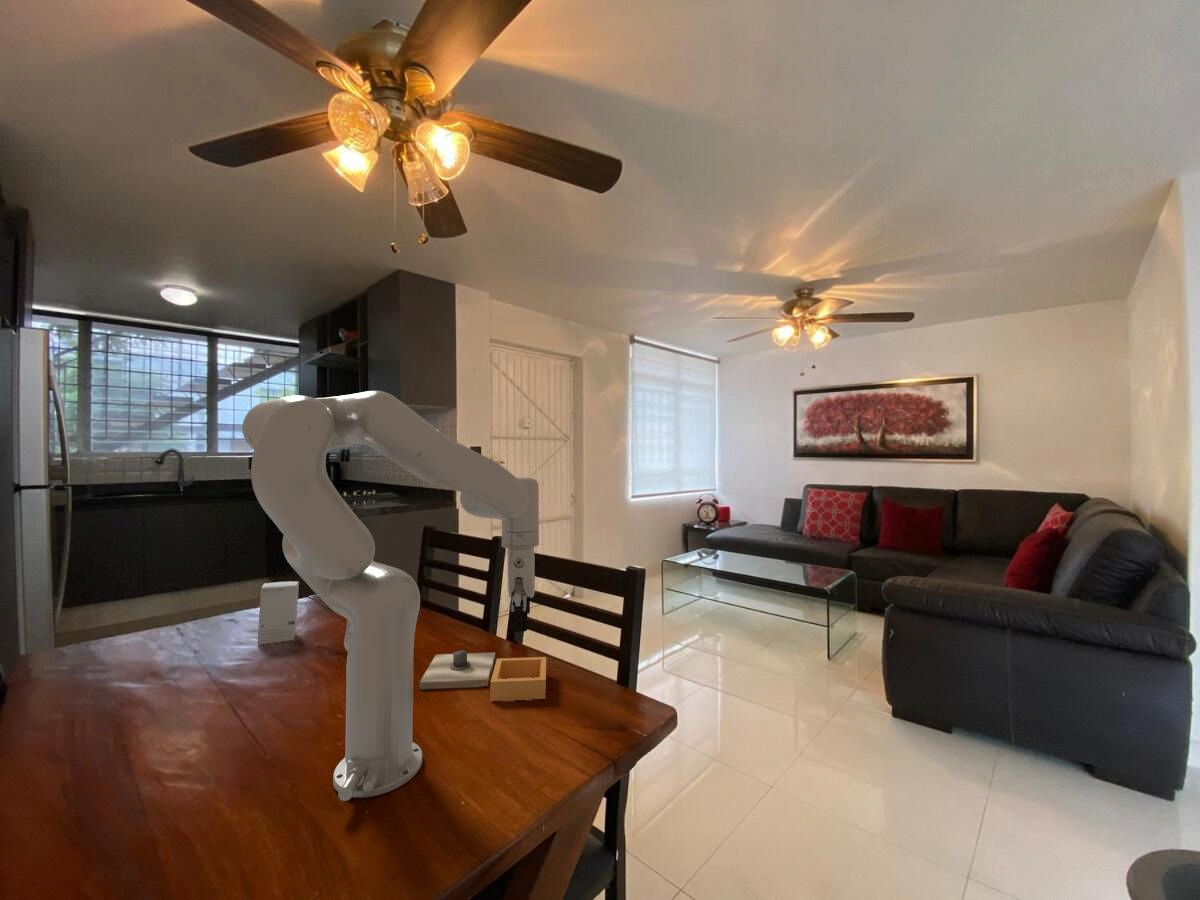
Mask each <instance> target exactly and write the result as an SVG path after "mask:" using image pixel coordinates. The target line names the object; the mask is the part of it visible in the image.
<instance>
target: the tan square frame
mask: <svg viewBox="0 0 1200 900" xmlns="http://www.w3.org/2000/svg"><path fill="white" fill-rule="evenodd" d="M493 667H494V669H493V672H492V673H491V674H492V675H491V677H490V686H489V687H490V691H489V695H490V697H489V698H490V699H489V700H490V701H489V702H490V703H494V702H493V701H502V702H516V701H515V700H525V701H533V700H532V699H545V700H546V695H545V694H546V691H547V688H546V687H547V685H546V684H547V656H540V657H539V656H537V657H536V656H535V657H509V658H502V657H501V658H496V659H495V664H494V666H493ZM532 677H534V678H532ZM502 678H507V679H502Z"/></svg>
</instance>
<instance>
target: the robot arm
mask: <svg viewBox="0 0 1200 900" xmlns="http://www.w3.org/2000/svg"><path fill="white" fill-rule="evenodd" d="M241 427H242V428H241V429H242V434H243V439H244V440H245V441H246V444H248V446H250V448H251V449H253V453H252V458H251V466H250V467H251V468H250V469H251V470H250V472H251V473H250V474H251V475H250V476H251V477H250V478H251V484H252V489H253V492H254V494H255V497H256V500H257V501H258V503H259V505H260V506H261V508H262V509H263V510H264V512H265V514H266V515H267V517H269V519H271V520H272V523H274V525H275V526H276V527H277V528H278V530H279V531H280V532H281V533H282V534H283V536H282V543H281V544H282V545H281V546H282V552H283V555H284V557H285V559H286V560H287V561H286V562H287V563H288V564H289V565H290V567H291V568H292V569H293V570H294V572H295V573H297V575H298V576H299V577H300V578H301V579H302V580H303V581H304V583H306V584H307V586H308V587H310V589H311V591H313V592H314V593H315V594H316V595H317V596H318V597H319V598H320V600H321V601H323V602H324V603H325V605H327V607H328V608H330V609H331V610H332V611H333V612H334V613H336V614H338V615H339V616H341V617H343V618H345V619H346V620H347V619H349V620H350V621H352V622H353V624H354V628H353V634H352V638H351V641H350V645H349V649H348V651H347V656H346V671H345V672H346V673H345V674H346V675H345V677H346V685H345V686H346V689H345V690H346V691H345V692H346V695H345V696H346V697H345V698H346V699H345V750H344V752H345V755H344V758H343V759H341V760H340V761H339V763H338V764H337V765H336V767H335V768H334V771H333V776H332V783H333V787H334V789H335V790H336V791H337V792H338V793H337V796H338V799H339V800H340V801H343V802H348V801H349V800H350V799H352V798H360V799H361V798H371V797H376V796H380V795H383V794H386V793H389V792H392V791H393V790H396V789H398V788H399V787H401V786H403V785H405V784H406V783H408V782H409V781H410V780H411V779H412V778H413V777H414V776H416V774H417V773H418V772H419V770H420V769H421V766H422V763H423V751H422V748H421V747H420V746H419V745H418V744H417V743H415V742H413V720H414V718H413V717H414V716H413V715H414V714H413V713H414V709H413V707H414V649H415V648H414V647H415V646H414V644H415V634H416V625H417V621H418V617H419V616H418V615H419V612H420V607H421V593H420V589H419V586H418V584H417V582H416V581H415V579H414V578H413V577H412V576H411V575H409V574H408V573H407V572H406V571H404V570H402V569H400V568H397V567H394V566H392V565H387V564H385V563H380V562H377V561H374V558H375V556H376V555H375V553H376V545H375V540H374V538H373V535H372V533H371V531H370V530H369V529H368V528H367V526H366V525H365V524H364V523H363V522H362V521H361V520H360V519H359V517H358V515H357V514H356V513H355V512H354V510H353V509H352V508H351V507H350V505H348V503H347V502H346V501H345V499H343V497H342V496H341V494H340V493H339V491H338V490H337V488H336V487H335V485H334V484H333V482H332V481H331V479H330V478H329V474H328V472H327V465H326V463H327V454H328V451H329V450H334V449H339V448H346V447H350V446H351V447H352V446H358V445H359V446H360V445H361V446H362V445H363V446H365V445H366V446H368V447H371V448H372V449H373V450H374V451H377V452H378V453H380V455H383V456H384V457H385V458H388V459H389V460H390V461H392V462H393V463H395V464H396V465H397V466H399V467H400V468H402V469H404V470H405V471H407V472H408V473H410V474H411V475H413V476H414V477H416V478H418V479H419V480H422V481H424V482H427V483H429V484H432V485H433V486H434V485H435V486H439V487H443V488H447V489H451V490H454V491H457V492H459V493H460V494H459V495H460V496H459V501H460V504H461V507H462V508H463V510H464V511H465V512H466V513H468V514H469V515H471V516H474V517H479V518H484V519H495V520H499V521H500V520H501V547H502V548H504V549H507V586H508V588H507V589H508V590H507V591H508V597H509V598H510V599H511V605H510V606H511V608H510V631H511V633H517V632H518V633H519V632H520V633H521V632H527V631H528V615H529V614H530V613H531V600H530V599H532V598H534V596H535V589H536V577H535V576H536V574H535V573H536V569H535V568H536V567H535V566H536V565H535V562H536V561H535V558H536V557H535V548H536V547H538V546H539V545H540V539H539V538H540V532H539V531H540V527H539V526H540V517H539V515H540V514H539V512H540V510H539V509H540V507H539V505H540V502H539V501H540V499H539V495H540V494H539V491H540V489H539V482H538V481H537V479H535V478H533V477H532V478H531V477H516V476H515V475H514V474H512V473H511V472H510V471H509V470H507V468H505V467H504V466H502V465H501V464H499V463H498V462H496V461H495V460H492V459H491V458H490V457H488V456H485V455H483V454H481V453H479V452H477V451H475V450H473V449H472V448H469V447H467V446H465V445H464V444H461V443H459V442H457V441H455V440H453V439H451V438H450V437H448V436H447V435H446V434H444V433H443V432H442V431H440V430H439V429H438V428H436V427H435V426H434V425H432V424H431V423H429V421H428V420H426V419H425V418H423V417H422V416H421V415H419V414H418V413H417V412H416V411H415V410H413V409H412V408H410V407H409V406H408V405H406V404H405V403H404V402H403V401H401V400H400V399H398V397H396V396H394V395H392V394H391V393H388V392H386V391H383V390H367V391H362V392H357V393H352V394H345V395H339V396H336V395H335V396H329V397H317V398H315V397H312V396H307V395H289V396H282V397H279V398H276V399H270V400H266V401H263V402H260V403H259V404H256V405H255V406H253V407H252V408H251V409H250V410H248V412H247V413H246V415H245V416H244V418H243V422H242V426H241Z"/></svg>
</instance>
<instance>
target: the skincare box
mask: <svg viewBox="0 0 1200 900" xmlns="http://www.w3.org/2000/svg"><path fill="white" fill-rule="evenodd" d="M299 585H300V581H298V580H297V581H296V580H295V581H294V580H293V581H291V580H290V581H277V582H268V583H267V582H265V583H263V584H262V586H261V587H260V598H259V601H260V602H259V614H258V615H259V616H258V630H257V631H258V632H257V643H256V644H257V646H262V645H261V644H264V645H268V644H267V643H271V644H276V643H275V642H278V643H281V642H283V641H284V642H291V641H290V640H292V641H295V637H296V634H297V633H296V632H297V618H298V603H299V601H298V600H299V589H300V587H299Z"/></svg>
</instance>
